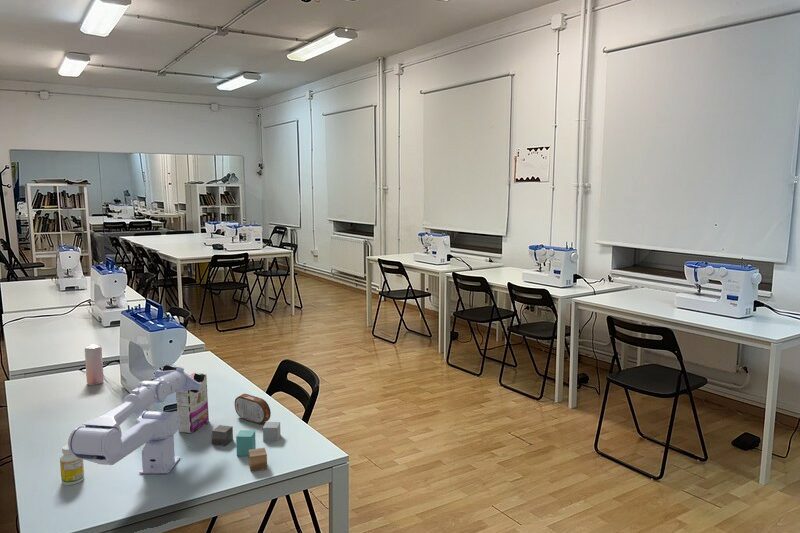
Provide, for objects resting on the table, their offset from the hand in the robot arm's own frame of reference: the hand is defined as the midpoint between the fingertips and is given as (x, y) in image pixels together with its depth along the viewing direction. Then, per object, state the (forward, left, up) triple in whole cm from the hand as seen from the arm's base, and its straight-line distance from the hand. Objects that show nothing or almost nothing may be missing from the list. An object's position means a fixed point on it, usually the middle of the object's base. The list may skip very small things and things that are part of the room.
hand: (191, 374), depth 184 cm
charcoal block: (-5, -10, -20) cm, 23 cm away
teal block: (-12, -19, -20) cm, 30 cm away
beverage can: (+49, +56, -20) cm, 77 cm away
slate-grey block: (-2, -25, -20) cm, 32 cm away
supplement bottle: (-29, +23, -20) cm, 42 cm away
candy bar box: (+7, +3, -20) cm, 22 cm away
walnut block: (-21, -25, -20) cm, 38 cm away
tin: (+12, -15, -20) cm, 28 cm away
